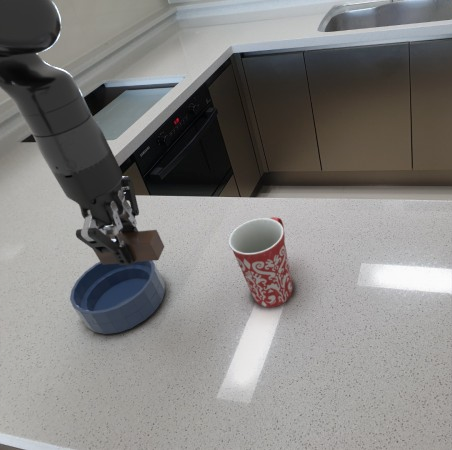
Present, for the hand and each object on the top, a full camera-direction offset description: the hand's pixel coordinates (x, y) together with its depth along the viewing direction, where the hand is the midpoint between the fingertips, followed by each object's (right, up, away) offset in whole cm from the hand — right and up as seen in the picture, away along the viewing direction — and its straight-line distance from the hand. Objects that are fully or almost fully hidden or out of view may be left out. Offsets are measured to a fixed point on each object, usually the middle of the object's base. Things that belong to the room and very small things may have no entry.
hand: (132, 255), depth 69 cm
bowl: (-8, -10, +18) cm, 22 cm away
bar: (0, 0, 0) cm, 0 cm away
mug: (+21, -7, +15) cm, 26 cm away
